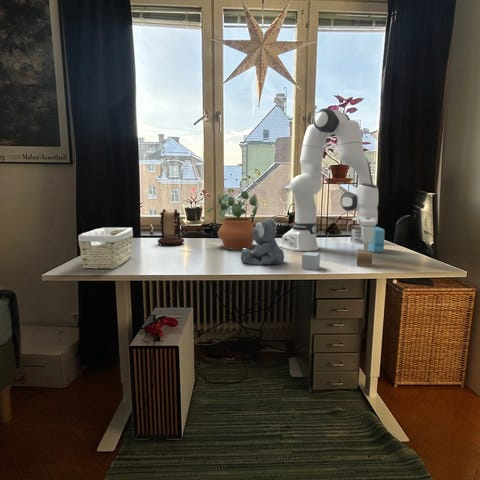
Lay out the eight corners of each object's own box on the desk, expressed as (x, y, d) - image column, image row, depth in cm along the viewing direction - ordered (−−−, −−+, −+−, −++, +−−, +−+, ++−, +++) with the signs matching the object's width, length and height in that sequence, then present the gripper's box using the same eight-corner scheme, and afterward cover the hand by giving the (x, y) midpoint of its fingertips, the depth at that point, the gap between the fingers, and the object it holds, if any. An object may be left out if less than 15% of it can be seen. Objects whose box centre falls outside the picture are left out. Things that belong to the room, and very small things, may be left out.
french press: (369, 244, 199) (372, 200, 195) (348, 244, 199) (351, 200, 195) (363, 241, 209) (366, 199, 204) (343, 241, 209) (346, 199, 205)
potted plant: (256, 251, 180) (257, 192, 175) (203, 250, 183) (201, 192, 177) (258, 243, 202) (259, 190, 197) (210, 242, 205) (210, 190, 200)
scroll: (154, 246, 193) (152, 210, 190) (162, 241, 208) (161, 207, 204) (180, 247, 191) (178, 210, 188) (187, 242, 206) (186, 208, 202)
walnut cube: (357, 249, 156) (357, 252, 150) (371, 250, 154) (372, 253, 148) (356, 263, 157) (356, 266, 151) (370, 264, 155) (371, 267, 149)
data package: (383, 253, 176) (385, 229, 174) (374, 253, 177) (375, 229, 175) (375, 248, 188) (377, 226, 186) (367, 248, 188) (368, 226, 186)
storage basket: (102, 257, 167) (99, 226, 165) (135, 257, 167) (134, 226, 165) (78, 270, 144) (75, 235, 141) (118, 270, 144) (115, 235, 141)
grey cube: (301, 268, 147) (302, 254, 146) (305, 265, 153) (306, 251, 152) (315, 270, 145) (316, 256, 144) (319, 266, 150) (320, 253, 149)
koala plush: (256, 256, 170) (256, 216, 167) (290, 260, 161) (292, 218, 158) (238, 263, 156) (238, 219, 152) (274, 268, 147) (275, 222, 143)
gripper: (358, 217, 169) (357, 245, 171) (360, 222, 150) (359, 253, 152) (372, 217, 167) (371, 245, 170) (376, 222, 148) (374, 254, 150)
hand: (365, 249), depth 161 cm, fingers closed
